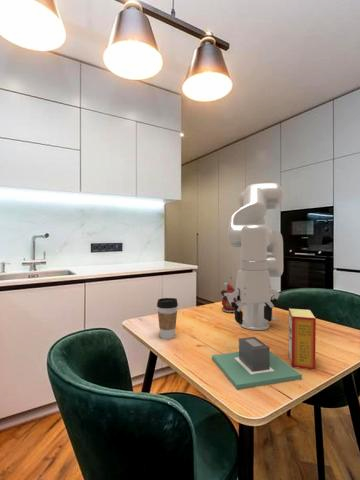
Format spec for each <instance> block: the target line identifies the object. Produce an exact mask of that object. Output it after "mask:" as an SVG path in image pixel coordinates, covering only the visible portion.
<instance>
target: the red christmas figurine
mask: <svg viewBox="0 0 360 480" xmlns="http://www.w3.org/2000/svg"><path fill="white" fill-rule="evenodd" d="M223 286H224V287H226V288H227V289H226V290H225V289H222V290H221V291H220V295H221V296H222V298H221V305H222V307H221V310H222V311H224V312H227V313H231V312H233V313H235V309H234V308H233V307H232V306H231V305H230V304H229V301H228V299H227V296H228V295H229V294H231V293H233V292H234V291H236V289H235V288H234V287H233V277H232V276H230V279H229V283H228V282H224V283H223ZM233 300H234V303H236V302H237V300H236V298H234V299H233Z"/></svg>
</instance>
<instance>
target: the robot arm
mask: <svg viewBox="0 0 360 480" xmlns="http://www.w3.org/2000/svg"><path fill="white" fill-rule="evenodd" d="M282 188H283V187H281V184H279V183H277V182H264V183H263V182H262V183H251V184H248V186H247V187H245V189H244V191H242V192H241V193H240V194H239V195H238V205H239V207H240V208H239V209H237V210H236V211H235V212H234V213H233V214H232V215H231V217H230V219H229V220H228V221H229V222H228V228H227V242H228V244H229V245H230V246H231V247H234V248H240V269H239V270H237V275H236V280H235V281H236V282H235V291H234V292H233V293H231V294H229V295H228V296H227V299H228V301H229V304H230V305H231V306H232V307H233V308H234V309H235V312H234V320H235V322H236V323H238V325H239V326H240V327H242V328H244V329H245V330H251V331H264V330H268V329H270V323H269V322H276V320H277V319H276V316H274V315H273V309H274V307H275V305H276V303H277V302H278V299H279V298H280V292H278V291H276V290H274V289H272V284H271V278H280V277H281V276H282V275H283V273H284V238H283V235H282V233H281V232H280V231H278V230H272V229H271V227H270V226H268V225H267V224H266V223H265V222H266V221H265V218H264V217H265V215H266V214H267V211H268V210H277V209H278V208H279V207H280V205H281V204H282V201H283V197H284V196H283V194H284V193H283V189H282ZM268 253H271V254H268ZM234 298H236V300H237V302H236V303H234V300H233V299H234ZM242 309H243V311H242Z"/></svg>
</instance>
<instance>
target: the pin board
mask: <svg viewBox="0 0 360 480" xmlns="http://www.w3.org/2000/svg"><path fill="white" fill-rule="evenodd" d="M211 359H212V361H213V363H215V364H216V366H217V368H219V369H220V370H221V372H222V374H224V375H225V377H226V378H227V379H228V380H229V382H231V384H232V386H234V388H235V389H236V390H242V389H248V388H254V387H259V386H260V387H261V386H266V385H272V384H279V383H285V382H290V381H291V382H292V381H296V380H297V379H298V380H302V379H301V378H303V377H302V376H303V374H302V373H300V372H299V371H297V370H296V369H295V368H294V367H292V365H291V366H290V365H289V364H288V363H287V362H285V361H284V360H283V359H281V358H280V357H279V356H278V355H275V354H274V353H273V352H271V351H270V370H263V371H256V372H252V371H251V370H250V369H249V368H248V367H247V366H246V365H245V364H244V363H243V362H242V361H241V360H240V359H239V351H237V352H236V351H235V352H227V353H219V354H212V355H211Z"/></svg>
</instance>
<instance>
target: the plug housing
mask: <svg viewBox="0 0 360 480" xmlns="http://www.w3.org/2000/svg"><path fill="white" fill-rule="evenodd" d="M238 352H239V359H240V360H241V361H242V362H243V363H244V364H245V365H246V366H247V367H248V368H249V369H250V370H251V371H252V372H256V371H263V370H270V352H271V351H270V346H268V345H267V344H266V343H264V342H263V341H262V340H260V339H258V338H257V337H256V336H250V337H242V338H241V337H240V338H238Z"/></svg>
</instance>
